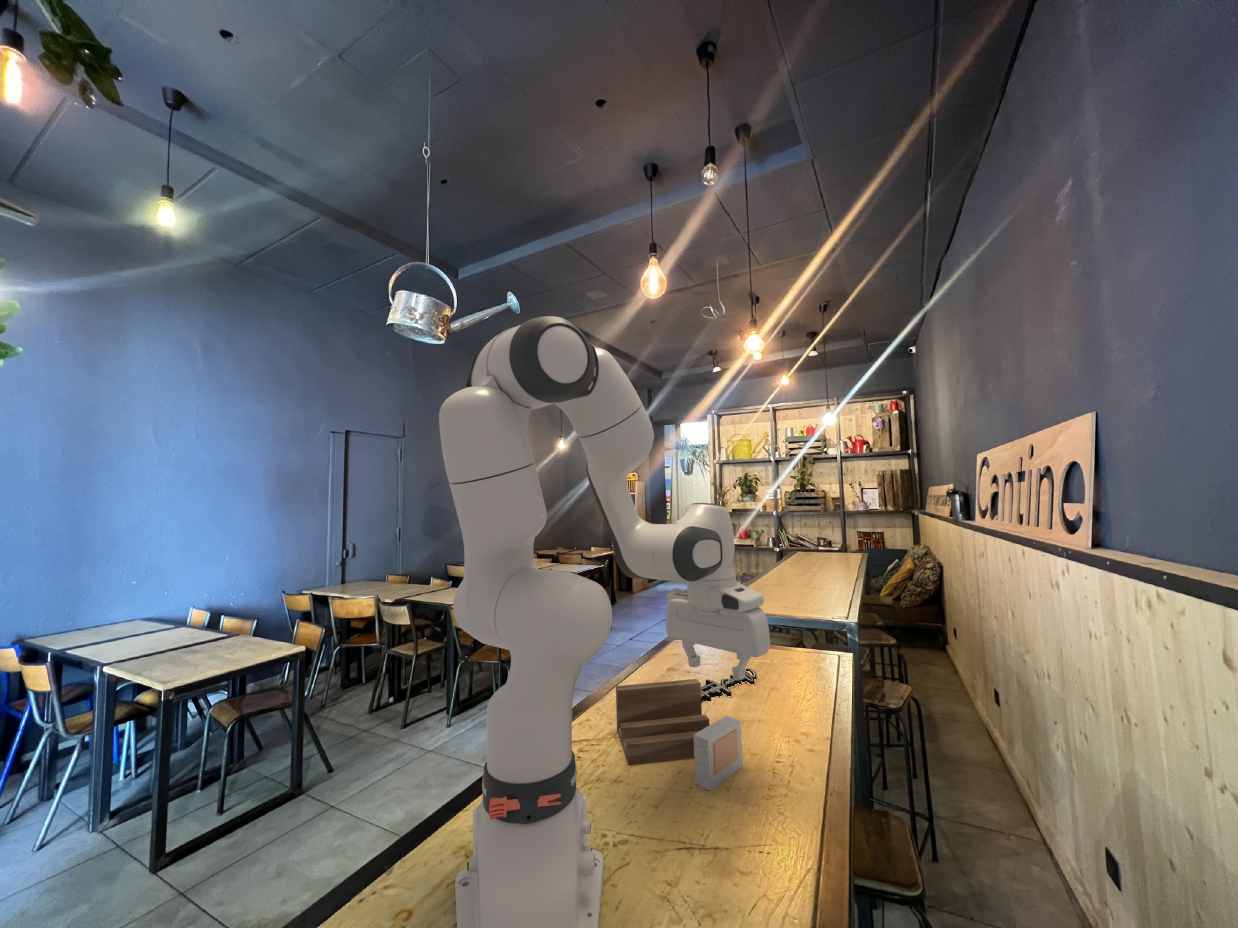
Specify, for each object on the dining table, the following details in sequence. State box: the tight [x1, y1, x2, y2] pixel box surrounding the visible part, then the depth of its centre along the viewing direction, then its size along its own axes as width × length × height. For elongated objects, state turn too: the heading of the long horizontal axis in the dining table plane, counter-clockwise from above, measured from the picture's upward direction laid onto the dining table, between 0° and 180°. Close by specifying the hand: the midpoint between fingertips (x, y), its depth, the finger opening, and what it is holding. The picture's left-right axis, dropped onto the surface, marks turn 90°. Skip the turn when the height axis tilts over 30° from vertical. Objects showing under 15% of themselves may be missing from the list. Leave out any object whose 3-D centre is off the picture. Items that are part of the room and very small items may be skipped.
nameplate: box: [701, 667, 758, 704], centre depth 123 cm, size 28×2×10 cm
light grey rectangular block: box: [693, 715, 744, 792], centre depth 84 cm, size 3×10×8 cm, turn 134°
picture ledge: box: [615, 678, 711, 766], centre depth 96 cm, size 14×18×9 cm
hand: (716, 671), depth 85 cm, fingers open, 8 cm apart
